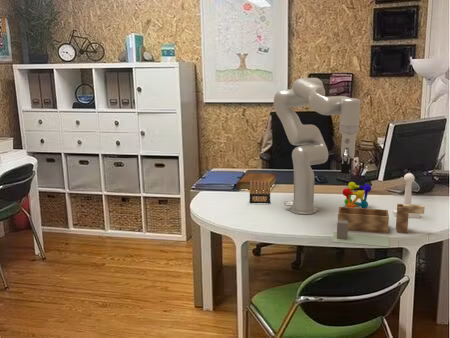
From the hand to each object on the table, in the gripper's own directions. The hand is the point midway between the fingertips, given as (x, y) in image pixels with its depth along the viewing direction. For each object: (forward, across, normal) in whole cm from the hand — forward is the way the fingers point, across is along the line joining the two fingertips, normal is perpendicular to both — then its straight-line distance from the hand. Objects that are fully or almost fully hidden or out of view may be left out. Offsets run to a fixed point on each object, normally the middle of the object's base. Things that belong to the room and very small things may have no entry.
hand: (345, 170), depth 186 cm
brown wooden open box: (+25, +2, -12) cm, 28 cm away
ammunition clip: (+28, +26, +42) cm, 57 cm away
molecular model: (+26, +31, -4) cm, 41 cm away
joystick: (+25, +25, -26) cm, 44 cm away
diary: (+30, +61, +53) cm, 86 cm away
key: (+16, +3, -28) cm, 32 cm away
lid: (+25, -13, -8) cm, 29 cm away
